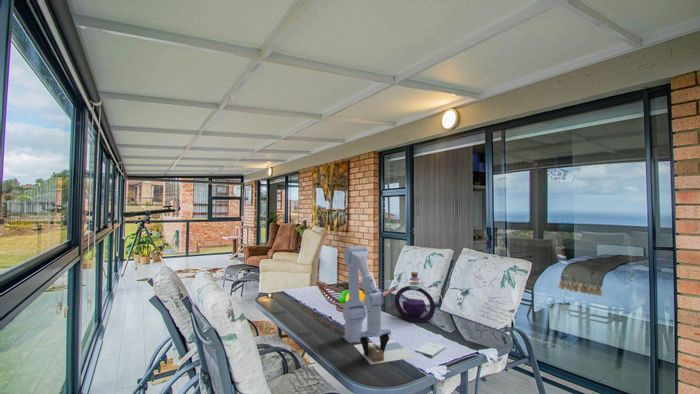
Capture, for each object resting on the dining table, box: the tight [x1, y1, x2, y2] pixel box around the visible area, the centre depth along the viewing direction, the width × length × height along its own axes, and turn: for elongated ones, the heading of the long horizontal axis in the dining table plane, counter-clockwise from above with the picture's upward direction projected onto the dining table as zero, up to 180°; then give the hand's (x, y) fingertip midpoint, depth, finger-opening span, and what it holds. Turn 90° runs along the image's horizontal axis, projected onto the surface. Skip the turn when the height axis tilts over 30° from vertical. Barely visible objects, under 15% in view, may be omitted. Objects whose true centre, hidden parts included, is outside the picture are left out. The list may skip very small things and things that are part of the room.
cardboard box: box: [368, 343, 384, 362], centre depth 149 cm, size 9×4×4 cm, turn 19°
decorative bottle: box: [394, 271, 436, 324], centre depth 202 cm, size 22×21×25 cm
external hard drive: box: [414, 341, 446, 359], centre depth 157 cm, size 2×8×12 cm
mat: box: [353, 339, 416, 365], centre depth 155 cm, size 20×20×1 cm
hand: (374, 354), depth 149 cm, fingers open, 7 cm apart
